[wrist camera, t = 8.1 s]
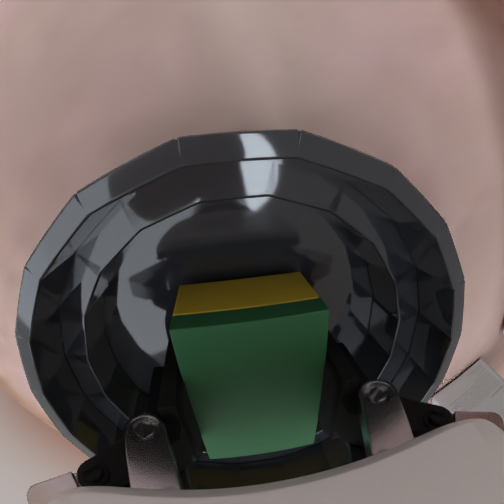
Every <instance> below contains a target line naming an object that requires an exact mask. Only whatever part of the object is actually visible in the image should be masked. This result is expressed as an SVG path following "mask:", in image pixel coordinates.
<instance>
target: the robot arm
mask: <svg viewBox="0 0 504 504" xmlns="http://www.w3.org/2000/svg"><path fill="white" fill-rule="evenodd" d="M318 419H319V422H320V424H321V426H322V429H323V431H324V433H325V434H329V435H330V437H331V439H332V440H333V439H337V438H339V439H340V440H343V441H345V447H346V454H347V462H348V464H347V465H343V466H340V467H337V468H333V469H330V470H326V471H323V472H319V473H315V474H311V475H307V476H302V477H298V478H293V479H288V480H283V481H277V482H272V483H265V484H259V485H251V486H243V487H233V488H221V489H203V490H194V489H193V486H192V483H191V480H190V477H189V474H188V470H187V467H188V466H190V465H191V464H192V461H197V454H201V453H202V437H201V432H200V429H199V426H198V423H197V421H196V418H195V415H194V412H193V409H192V406H191V402H190V399H189V396H188V393H187V390H186V387H185V383H184V382H183V379H182V376H181V373H180V369H179V366H178V362H177V359H176V355H175V351H174V347H173V344H172V340H171V336H169V340H168V346H167V351H166V357H165V362H164V367H154V369H153V373H152V378H151V383H150V388H149V393H148V398H147V403H146V409H145V413H142V414H138V415H135V416H134V417H132V418H130V419H129V420H128V421H127V423H126V425H125V426H124V438H122V439H121V440H119V441H118V442H116V443H115V444H113V445H111V446H110V447H108V448H107V449H105V450H103V451H102V452H100V453H98V454H97V455H95V456H93V457H92V458H90V459H88V460H87V461H85V462H84V463H82V464H81V465H80V467H79V468H78V471H77V473H74V474H73V473H72V472H69V473H66V474H63V475H61V476H58V477H55V478H52V479H49V480H47V481H43V482H40V483H37V484H34V485H33V486H31V487H30V488H29V490H28V492H27V500H28V503H29V504H504V424H503V420H502V418H501V417H500V415H499V414H497V413H495V412H468V411H455V412H454V414H452V413H451V412H450V411H449V410H448V409H446V408H445V407H442V406H438V405H433V404H429V403H424V402H420V401H415V400H411V399H407V398H403V397H399V394H398V391H397V389H396V388H395V386H394V385H393V384H392V383H390V382H388V381H386V380H382V379H373V380H368V378H367V377H366V375H365V374H364V372H363V371H362V369H361V368H360V366H359V365H358V364H357V362H356V361H355V359H354V358H353V356H352V355H351V353H350V352H349V350H348V349H347V347H346V346H345V345H344V344H343V343H337V342H336V340H335V339H334V337H333V336H332V334H331V333H330V331H329V330H328V339H327V350H326V360H325V364H324V373H323V382H322V390H321V398H320V405H319V412H318Z"/></svg>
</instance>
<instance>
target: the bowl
mask: <svg viewBox="0 0 504 504" xmlns="http://www.w3.org/2000/svg"><path fill="white" fill-rule="evenodd" d="M295 272H300V273H301V274H302V275H303V276H304V278H305V279H306V280H307V282H308V283H309V284H310V286H311V287H312V288H313V289H314V291H315V292H316V293H317V295H318V296H319V298H321V299H322V300H323V302H324V303H325V304H326V305H327V307H328V308H329V310H330V313H329V327H328V330H329V331H330V333H331V334H332V336H333V337H334V339H335V340H336V342H337V343H343V344H344V345H345V346H346V347H347V349H348V350H349V352H350V353H351V355H352V356H353V358H354V359H355V361H356V362H357V364H358V365H359V366H360V368H361V369H362V371H363V372H364V374H365V375H366V377H367V378H368V380H373V379H382V380H386V381H388V382H390V383H392V384H393V385H394V386H395V388H396V389H397V391H398V394H399V397H403V398H407V399H411V400H415V401H420V402H424V403H428V401H429V400H430V398H431V397H432V396H433V394H434V393H435V391H436V390H437V388H438V387H439V385H440V384H441V382H442V380H443V379H444V377H445V374H446V372H447V370H448V367H449V365H450V362H451V360H452V357H453V355H454V352H455V349H456V347H457V344H458V341H459V338H460V335H461V331H462V320H463V307H464V284H465V281H464V276H463V272H462V269H461V265H460V262H459V258H458V255H457V252H456V249H455V246H454V243H453V240H452V237H451V234H450V231H449V229H448V226H447V224H446V223H445V220H444V219H443V218H442V217H441V216H440V214H439V213H438V212H437V211H436V210H435V209H434V208H433V206H432V205H431V204H430V203H429V202H428V201H427V200H426V199H425V197H424V196H423V195H422V194H421V193H420V192H419V191H418V190H417V189H416V188H415V187H414V186H413V185H412V184H411V183H410V182H409V181H408V180H407V178H406V177H405V176H404V175H403V174H402V173H401V172H400V171H398V170H397V169H396V168H394V166H393V165H391V164H389V163H386V162H384V161H382V160H380V159H377V158H375V157H373V156H370V155H368V154H365V153H363V152H361V151H358V150H356V149H353V148H351V147H348V146H345V145H343V144H340V143H338V142H335V141H332V140H329V139H327V138H324V137H321V136H318V135H315V134H312V133H309V132H306V131H303V130H300V131H299V130H297V129H287V130H253V131H236V132H222V133H210V134H200V135H191V136H183V137H178V138H177V139H172V140H170V141H168V142H165V143H163V144H161V145H159V146H157V147H155V148H153V149H151V150H149V151H147V152H145V153H143V154H141V155H139V156H137V157H135V158H134V159H132V160H130V161H128V162H126V163H124V164H122V165H121V166H119V167H117V168H115V169H113V170H112V171H110V172H108V173H106V174H105V175H103V176H101V177H100V178H98V179H96V180H95V181H93V182H91V183H90V184H88V185H86V186H85V187H83V188H82V189H80V190H79V191H78V192H77V193H76V194H74V195H73V196H72V197H71V199H70V200H69V201H68V203H67V204H66V205H65V206H64V208H63V209H62V210H61V212H60V213H59V215H58V216H57V217H56V219H55V220H54V221H53V223H52V224H51V226H50V227H49V229H48V230H47V231H46V233H45V234H44V236H43V237H42V239H41V240H40V242H39V243H38V245H37V246H36V248H35V250H34V251H33V253H32V254H31V256H30V258H29V259H28V261H27V263H26V266H25V267H24V271H23V277H22V282H21V288H20V294H19V301H18V309H17V318H16V328H15V333H16V334H15V336H16V340H17V345H18V349H19V353H20V356H21V360H22V364H23V367H24V371H25V374H26V377H27V380H28V383H29V386H30V389H31V391H32V393H33V394H34V396H35V398H36V399H37V401H38V402H39V404H40V405H41V407H42V408H43V409H44V411H45V412H46V414H47V415H48V417H49V418H50V419H51V421H52V422H53V423H54V425H55V426H56V427H57V429H58V430H59V431H60V433H62V435H63V436H64V437H65V438H67V439H68V440H69V441H70V442H72V444H74V445H75V446H76V447H77V448H78V449H80V450H81V451H82V452H83V453H85V454H86V455H87V456H88V457H90V458H92V457H93V456H95V455H97V454H98V453H100V452H102V451H103V450H105V449H107V448H108V447H110V446H111V445H113V444H115V443H116V442H118V441H119V440H121V439H122V438H124V426H125V425H126V423H127V421H128V420H129V419H130V418H132V417H134V416H135V415H138V414H142V413H145V409H146V403H147V398H148V393H149V388H150V383H151V378H152V373H153V369H154V367H164V362H165V357H166V351H167V346H168V340H169V336H170V332H169V329H170V324H171V319H172V316H173V312H174V308H175V303H176V299H177V294H178V290H179V286H181V285H190V284H199V283H209V282H218V281H227V280H236V279H245V278H254V277H262V276H270V275H279V274H287V273H295ZM347 464H348V462H347V454H346V447H345V441H343V440H340V439H339V438H337V439H333V440H332V439H331V437H330V435H329V434H325V433H324V431H323V429H322V426H321V424H320V422H319V419H318V422H317V428H316V434H315V440H314V443H313V444H309V445H305V446H300V447H295V448H291V449H285V450H280V451H274V452H268V453H262V454H255V455H248V456H239V457H230V458H218V459H210V458H209V455H208V453H207V450H206V447H205V445H204V442H203V439H202V453H201V454H197V461H192V464H191V465H190V466H188V467H187V470H188V474H189V477H190V480H191V483H192V486H193V489H194V490H203V489H221V488H233V487H243V486H251V485H259V484H265V483H272V482H277V481H283V480H288V479H293V478H298V477H302V476H307V475H311V474H315V473H319V472H323V471H326V470H330V469H333V468H337V467H340V466H343V465H347Z"/></svg>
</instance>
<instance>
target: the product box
mask: <svg viewBox="0 0 504 504" xmlns="http://www.w3.org/2000/svg"><path fill="white" fill-rule="evenodd" d="M432 404H433V405H438V406H442V407H445V408H446V409H448V410H449V411H450V412H451V413H452V414H454V412H455V411H468V412H495V413H497V414H499V415H500V417H501V418H502V420H503V424H504V379H503V378H502V377H501V376H500V375H499V374H498V373H496V372H495V371H494V370H493V369H492V368H491V367H490V366H489V365H488V364H487V363H486V362H485V361H484V360H483V359H480V360H478V361H477V362H476V363H475V364H474V365H472V366H471V367H470V368H469V369H468V370H466V371H465V372H464V373H463V374H462V375H461V376H459V377H458V378H457V379H456V380H454V381H453V382H452V383H451V384H449V385H448V386H446V387H445V388H444V389H442V390H441V391H439V392H438V393H437V394H435V395H434V396H433V397H432Z"/></svg>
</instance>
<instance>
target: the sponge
mask: <svg viewBox="0 0 504 504" xmlns="http://www.w3.org/2000/svg"><path fill="white" fill-rule="evenodd" d="M329 313H330V310H329V308H328V307H327V305H326V304H325V303H324V302H323V300H322V299H321V298H319V296H318V295H317V293H316V292H315V291H314V289H313V288H312V287H311V286H310V284H309V283H308V282H307V280H306V279H305V278H304V276H303V275H302V274H301V273H300V272H295V273H287V274H279V275H270V276H262V277H254V278H245V279H236V280H227V281H218V282H209V283H199V284H190V285H181V286H179V290H178V294H177V299H176V303H175V308H174V312H173V316H172V319H171V324H170V329H169V332H170V336H171V340H172V344H173V347H174V351H175V355H176V359H177V362H178V366H179V369H180V373H181V376H182V379H183V382H184V383H185V387H186V390H187V393H188V396H189V399H190V402H191V406H192V409H193V412H194V415H195V418H196V421H197V423H198V426H199V429H200V432H201V437H202V439H203V442H204V445H205V447H206V450H207V453H208V455H209V458H210V459H218V458H230V457H239V456H248V455H255V454H262V453H268V452H274V451H280V450H285V449H291V448H295V447H300V446H305V445H309V444H313V443H314V440H315V434H316V428H317V422H318V412H319V405H320V398H321V390H322V382H323V373H324V364H325V360H326V350H327V339H328V327H329Z"/></svg>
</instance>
